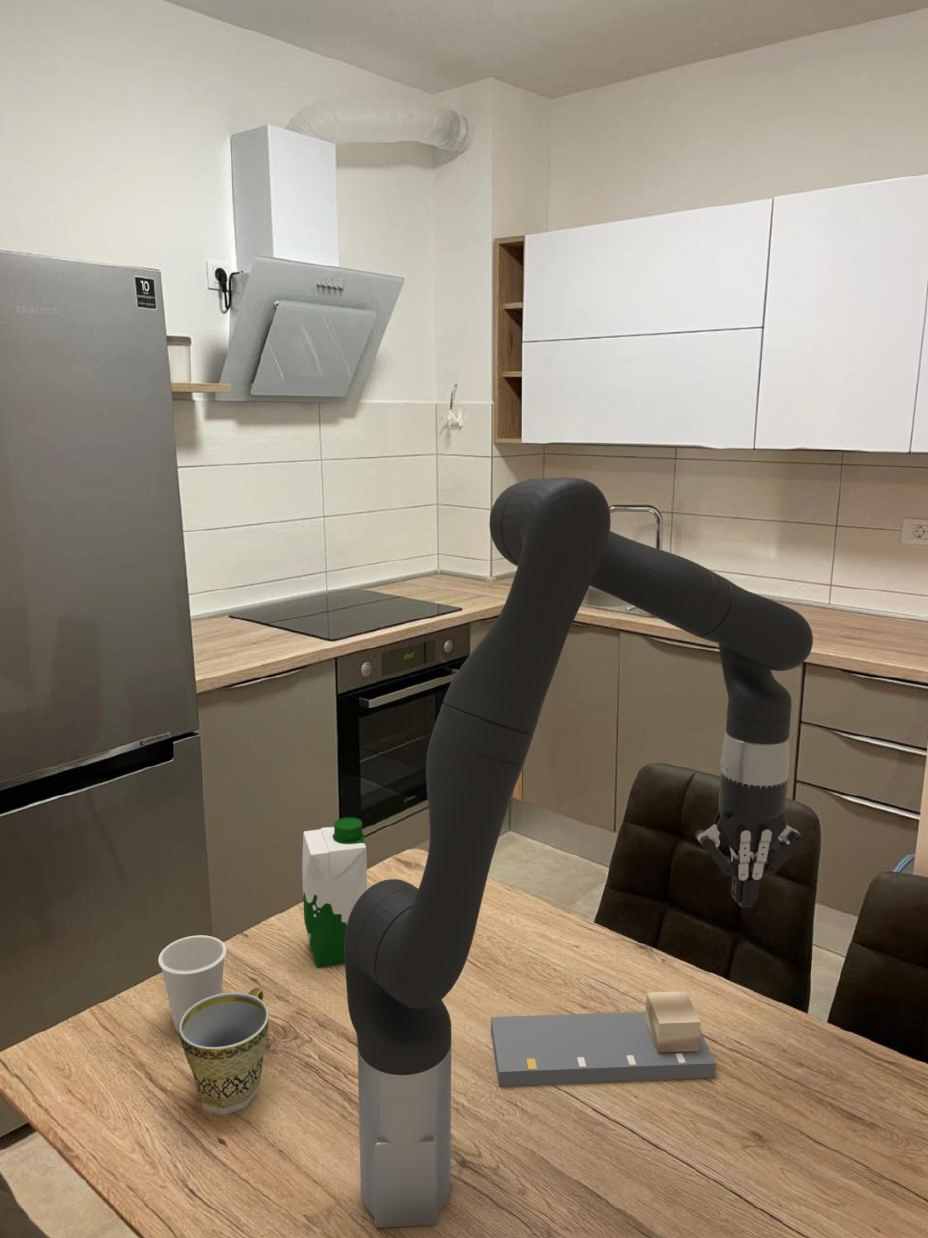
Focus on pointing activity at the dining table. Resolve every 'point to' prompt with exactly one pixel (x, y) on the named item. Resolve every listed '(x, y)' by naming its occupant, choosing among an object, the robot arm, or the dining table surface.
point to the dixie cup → (192, 971)
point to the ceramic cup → (226, 1048)
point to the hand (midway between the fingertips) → (744, 903)
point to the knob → (672, 1021)
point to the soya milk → (332, 885)
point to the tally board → (588, 1050)
